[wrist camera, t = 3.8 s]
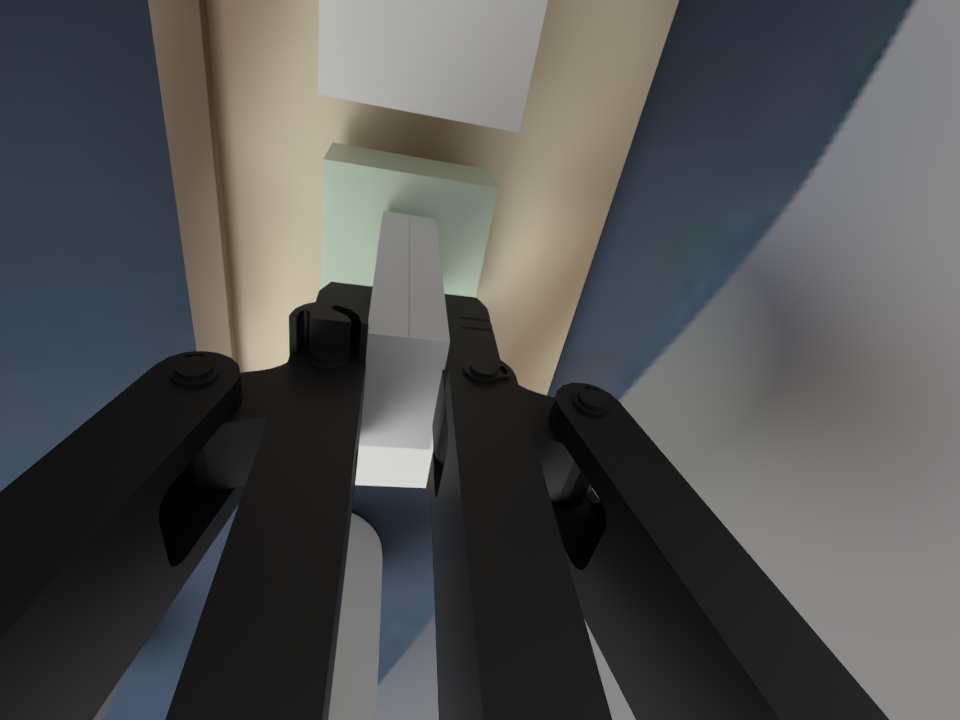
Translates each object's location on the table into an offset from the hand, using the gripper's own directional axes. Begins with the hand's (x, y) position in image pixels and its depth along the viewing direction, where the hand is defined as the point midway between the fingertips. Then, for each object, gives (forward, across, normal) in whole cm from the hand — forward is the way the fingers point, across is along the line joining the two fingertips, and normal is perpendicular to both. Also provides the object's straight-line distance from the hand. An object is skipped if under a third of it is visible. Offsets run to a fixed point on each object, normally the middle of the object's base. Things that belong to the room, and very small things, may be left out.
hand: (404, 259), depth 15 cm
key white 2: (+1, 0, +6) cm, 7 cm away
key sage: (+2, 0, 0) cm, 2 cm away
